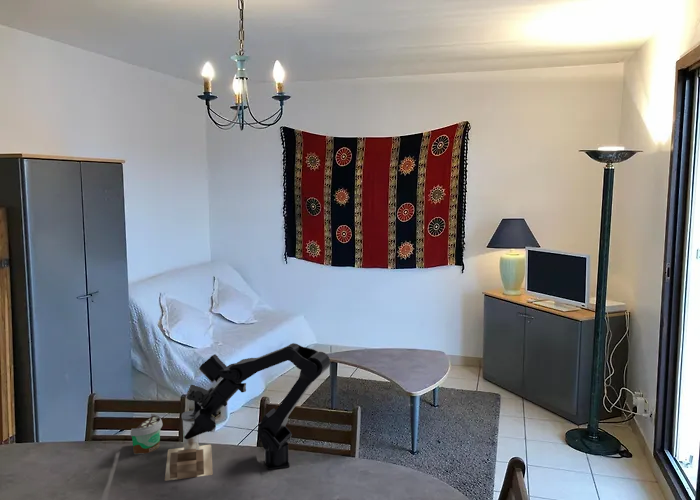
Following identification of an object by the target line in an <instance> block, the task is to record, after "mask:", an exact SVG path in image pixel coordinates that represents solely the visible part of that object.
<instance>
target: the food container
mask: <svg viewBox="0 0 700 500" xmlns="http://www.w3.org/2000/svg"><path fill="white" fill-rule="evenodd" d="M162 427H163V420H162V418H161V416H160V415H158V414H155V413H151V415H150V417H149V418H148V419H146V420H144V421H142V422H141V423H140V424H139V425H138V426H136V428H131V430H130V437H131V439H132V448H133V449H132V451H133V455H144V454H149V453H152V452H154V451H156V450H157V449H159V447H160V443H161V429H162Z"/></svg>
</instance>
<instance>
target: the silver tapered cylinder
mask: <svg viewBox="0 0 700 500" xmlns="http://www.w3.org/2000/svg"><path fill="white" fill-rule="evenodd" d="M196 414H197V411H193V410H187V411H184V412H182V413H181V419H182V435H183V439H182V440H183V448H184V450H187V449H196V450H199V446H200V444H199V441H200V440H199V435H197V436H194V437H192V438H190V439H185V438H184V437H185V435H186V434H187V432H188V431H189V429H190V428H191V426H192V425H193V424H194V415H196Z"/></svg>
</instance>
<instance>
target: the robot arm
mask: <svg viewBox="0 0 700 500" xmlns="http://www.w3.org/2000/svg"><path fill="white" fill-rule="evenodd" d="M286 361H288V362H291V363H292V364H293V365H294V366H295V367H296V368H297V369H298V370H300V372H299V376H298V379H297V380H296V382H295V383H294V384H293V386H292V387H291V389H290V390H289V392H288V393H287V394H286V396H285V397H284V399H283V400H282V401H281V402H280V404H279V406H278V407H277V409H275V407H273V408H272V409H270V410H269V411H268V412H267V413H266V414H265V415H264V416H263V418H262V420H261V421H260V422H259V423H258V424H257V426H258V428H257V434H258V438H259V439H260V441H261V444H262V446H263V450H264V454H263V455H264V464H265V465H266V467H267V470H276V469H283V468H290V466H291V465H290V462H289V443H288V441H289V440H291V437H292V435H293V432H291V430H290V429H289V428H288V427H287V426H286V425H287V423H288V420H289V416H290V415H291V413H292V412H293V410H294V409H295V408H296V406H297V405H298V403H299V402H300V401H301V400H302V398H303V396H304V395H305V394H306V392H307V390H309V388H310V387H311V385H312V384H313V383H314V382H315V381H316V380H317V379H318V378H320V376H321V375H323V373H324V372H326V371H327V370H328V369H329V368H330V366H331V360H330V357H329V355H328V354H327V353H326V352H323V351H318V350H316V349H314V348H309V347H306V346H302V345H300V344H298V343H295V342H293V343H290V344H288V345H287V346H284V347H281V348H279V349H276V350H274V351H271V352H269V353H266V354H263V355H261V356H258V357H248V358H243V359H241V360H239V361H237V362H236V363H235V362H234V363H230V364H229V365H226V364H225V363H224V362H223V361H222V360H221V359H220V358H219V357H218V355H217V354H216V353H215V354H212V355H210V357H209V358H208V359H207V360H205V361H204V362H203V363H202V364H201V365H200V366H199V368H198V370H199V371H200V372H201V373H202V374H203V375H204V376H205V377H206V379H207V380H209V381H210V382H211V383H214V382H216V383H218V384H217V385H215V386H214V387H210V388H209V389H205V388H204V387H201V386H199V385H198V386H197V385H195V384H190V385H189V388H188V390H187V393H186V399H187V400H188V401H194V402H193V403H194V404H193V405H194V406H193V407H194V408H193V409H192V411H197V414H196V415H194V424H193V425H192V426H191V428H190V429H189V431H188V432H187V434H186V435H185V437H184V438H185V439H190V438H192V437H194V436H197V435H198V436H199V435H202V434H205V433H209V432H213V431H214V430H215V429H216V427H217V425H216V422H217V421H216V417H217V416H218V414H219V413H218V412H219V411H220V410H221V409H222V408H223V407H226V406H227V405H228V401H229V400H230V399H231V398H233V396H234V395H235V394H236V393H237V392H238V391H240V393H246V391H247V389H246V387H247V382H245V381H246V380H248V379H249V378H250V377H252V376H254V375H255V374H256V373H258V372H260V371H263V370H266V369H269V368H272V367H274V366H277V365H279V364H282V363H284V362H286Z"/></svg>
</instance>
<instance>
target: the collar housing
mask: <svg viewBox="0 0 700 500" xmlns="http://www.w3.org/2000/svg"><path fill="white" fill-rule="evenodd" d="M212 452H213V451H212V444H205V445H204V444H203V445H199V450H196V449H187V450H184V447H177V448H176V447H175V448H169V449H167V456H166V465H165V475H164V481H174V480H181V479H182V480H184V479H190V478H199V477H206V476H213V475H214V473H213V455H212V454H213V453H212Z"/></svg>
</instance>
